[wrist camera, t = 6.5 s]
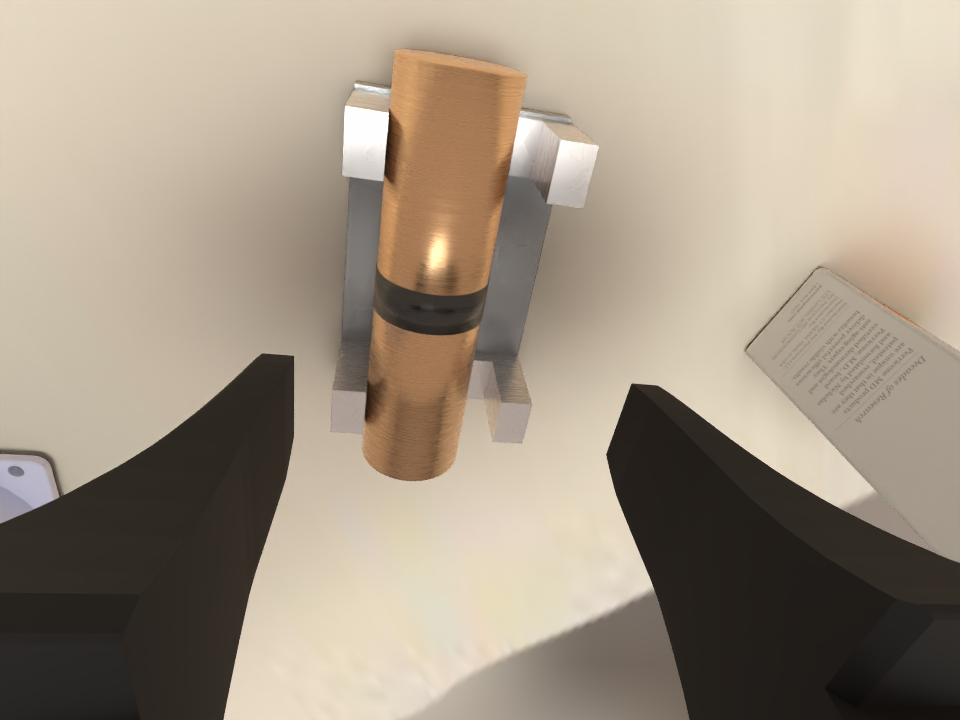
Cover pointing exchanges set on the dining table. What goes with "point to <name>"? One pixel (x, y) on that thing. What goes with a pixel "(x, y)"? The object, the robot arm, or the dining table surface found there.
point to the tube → (435, 252)
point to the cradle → (525, 213)
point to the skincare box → (874, 397)
